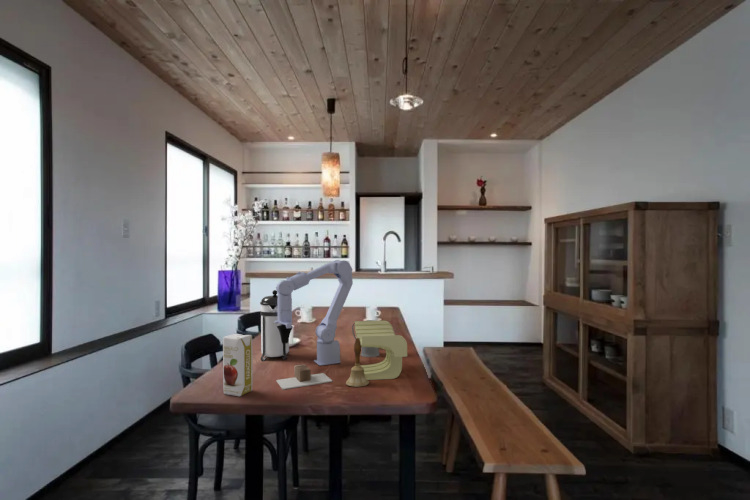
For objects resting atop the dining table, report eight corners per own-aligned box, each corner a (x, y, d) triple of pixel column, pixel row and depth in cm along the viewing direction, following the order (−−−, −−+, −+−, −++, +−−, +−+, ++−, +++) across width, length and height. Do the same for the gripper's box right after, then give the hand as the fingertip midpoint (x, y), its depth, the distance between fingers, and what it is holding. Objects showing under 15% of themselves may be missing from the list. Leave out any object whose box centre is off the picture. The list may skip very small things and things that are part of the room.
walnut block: (305, 364, 149) (310, 369, 143) (305, 375, 149) (310, 380, 143) (294, 365, 147) (299, 370, 141) (294, 376, 147) (299, 382, 141)
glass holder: (373, 358, 174) (372, 324, 174) (347, 353, 181) (346, 321, 181) (383, 353, 181) (383, 321, 181) (357, 349, 189) (357, 318, 189)
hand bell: (356, 377, 147) (356, 335, 147) (373, 382, 141) (373, 337, 141) (341, 383, 140) (340, 339, 140) (358, 388, 135) (357, 342, 135)
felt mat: (323, 374, 152) (323, 372, 152) (332, 381, 143) (332, 380, 143) (276, 381, 144) (276, 380, 144) (282, 389, 135) (282, 388, 135)
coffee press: (300, 356, 178) (300, 289, 178) (270, 363, 166) (270, 292, 166) (278, 349, 189) (278, 287, 189) (248, 356, 177) (248, 290, 177)
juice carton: (235, 387, 138) (235, 332, 138) (255, 390, 134) (255, 334, 134) (219, 394, 131) (219, 337, 131) (240, 398, 127) (240, 339, 127)
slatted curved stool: (407, 386, 138) (407, 334, 138) (361, 388, 136) (361, 336, 136) (392, 362, 167) (392, 320, 167) (354, 363, 165) (354, 321, 165)
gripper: (271, 308, 165) (271, 340, 165) (279, 312, 152) (279, 348, 152) (287, 307, 169) (287, 338, 168) (296, 311, 156) (297, 346, 156)
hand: (284, 343), depth 161 cm, fingers closed
